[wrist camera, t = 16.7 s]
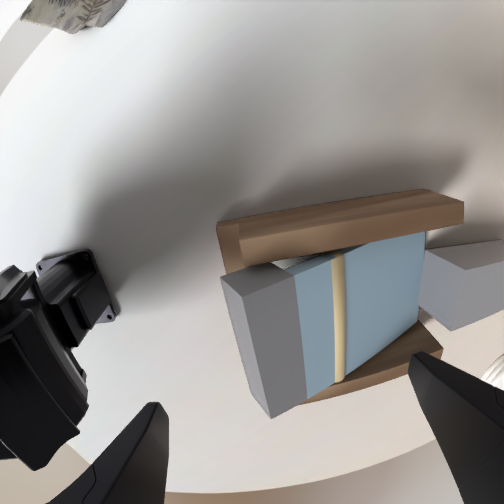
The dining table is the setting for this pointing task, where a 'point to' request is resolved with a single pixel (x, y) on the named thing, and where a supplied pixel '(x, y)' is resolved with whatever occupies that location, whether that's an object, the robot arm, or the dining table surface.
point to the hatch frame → (340, 236)
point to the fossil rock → (71, 13)
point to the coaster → (495, 374)
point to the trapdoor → (321, 316)
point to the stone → (463, 283)
